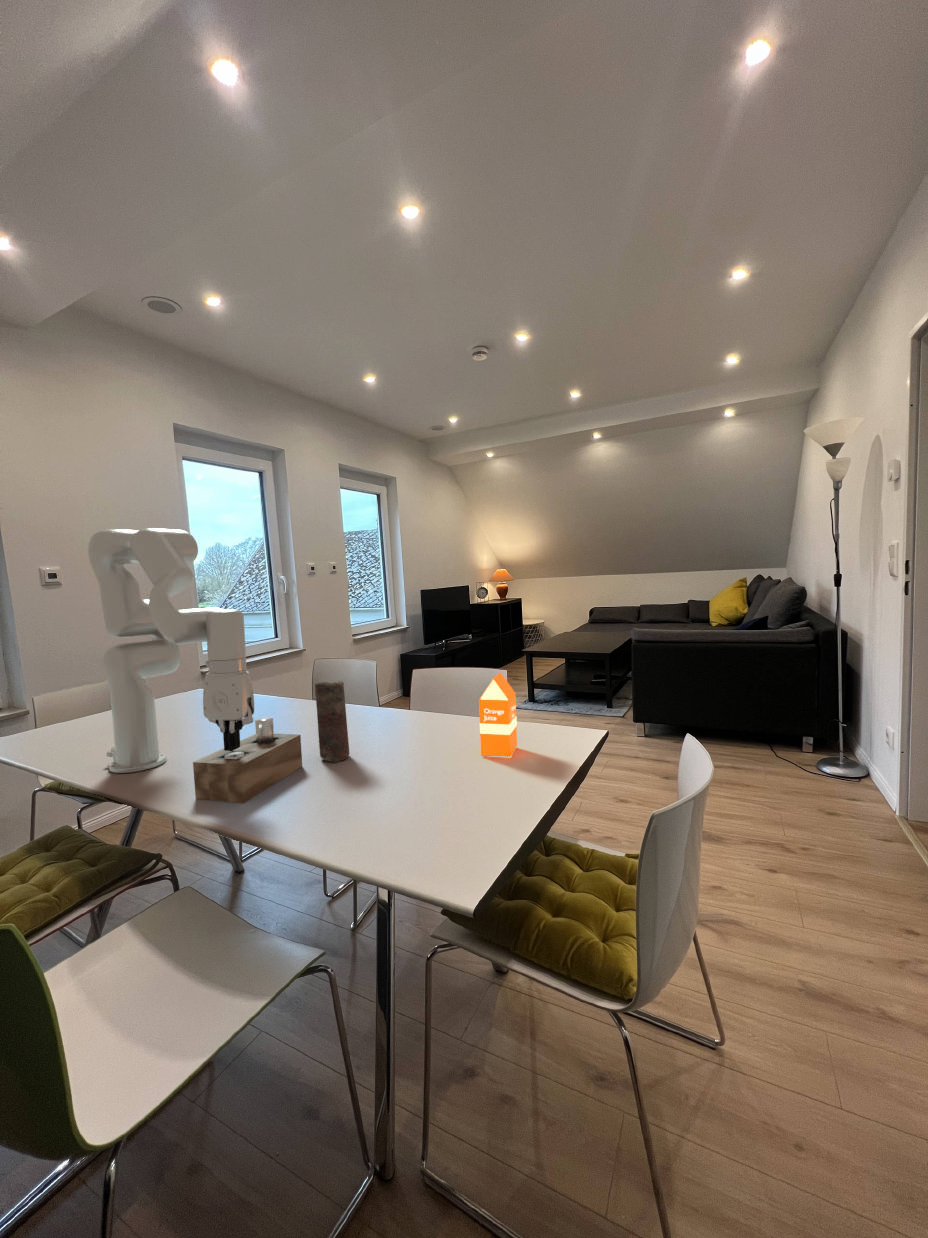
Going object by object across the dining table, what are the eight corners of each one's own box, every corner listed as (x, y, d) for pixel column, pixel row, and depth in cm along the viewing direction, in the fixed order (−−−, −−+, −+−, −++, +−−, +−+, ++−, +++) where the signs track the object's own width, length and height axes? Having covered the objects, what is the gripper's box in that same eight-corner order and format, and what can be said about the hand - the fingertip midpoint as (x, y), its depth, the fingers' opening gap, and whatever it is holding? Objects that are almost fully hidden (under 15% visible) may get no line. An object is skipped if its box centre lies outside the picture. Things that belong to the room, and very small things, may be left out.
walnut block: (195, 798, 114) (192, 762, 114) (260, 763, 135) (258, 732, 135) (243, 803, 111) (241, 765, 111) (302, 766, 132) (300, 734, 132)
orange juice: (480, 757, 134) (477, 678, 133) (489, 746, 143) (486, 672, 141) (511, 758, 132) (508, 678, 131) (518, 747, 140) (515, 672, 139)
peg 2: (253, 750, 127) (251, 721, 126) (263, 745, 131) (262, 717, 130) (268, 751, 126) (266, 722, 125) (278, 746, 130) (276, 717, 129)
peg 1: (222, 788, 117) (220, 757, 116) (234, 782, 120) (232, 751, 120) (238, 790, 115) (236, 758, 115) (250, 783, 119) (248, 752, 119)
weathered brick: (313, 760, 136) (308, 683, 135) (332, 752, 143) (328, 678, 141) (336, 764, 133) (331, 684, 131) (355, 755, 139) (351, 679, 138)
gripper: (185, 668, 114) (191, 752, 116) (245, 670, 111) (250, 757, 112) (211, 662, 122) (215, 741, 123) (268, 664, 118) (272, 746, 119)
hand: (232, 748), depth 118 cm, fingers closed
